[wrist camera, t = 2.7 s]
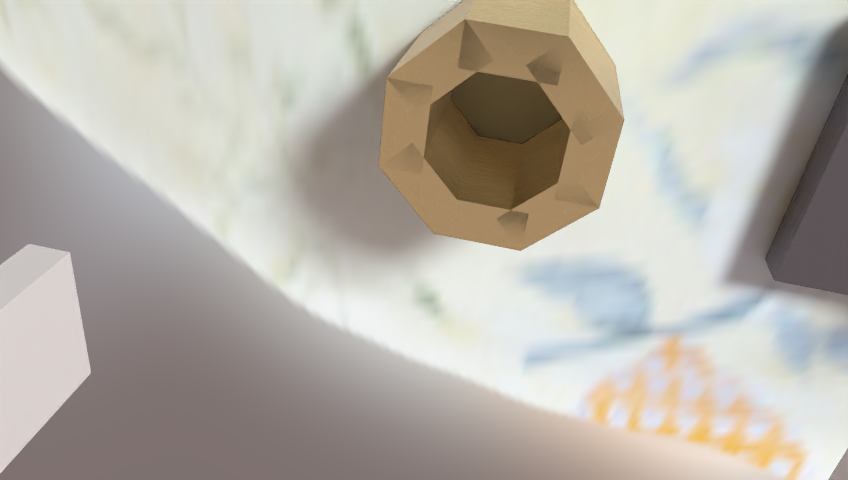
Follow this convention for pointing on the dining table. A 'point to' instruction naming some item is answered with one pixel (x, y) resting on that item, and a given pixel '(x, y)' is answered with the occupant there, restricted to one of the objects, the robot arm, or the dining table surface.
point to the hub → (491, 158)
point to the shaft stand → (818, 214)
